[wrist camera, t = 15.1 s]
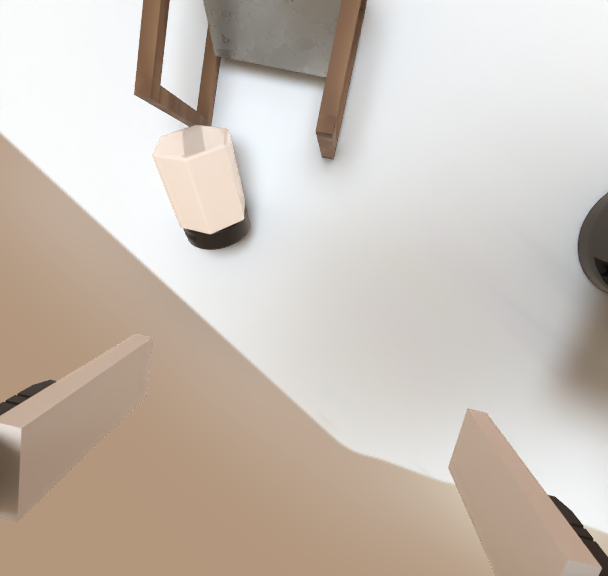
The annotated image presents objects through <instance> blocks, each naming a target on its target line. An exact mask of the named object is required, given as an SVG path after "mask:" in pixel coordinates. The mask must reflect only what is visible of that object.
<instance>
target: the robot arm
mask: <svg viewBox="0 0 608 576" xmlns="http://www.w3.org/2000/svg"><path fill="white" fill-rule="evenodd" d="M578 250H579V258H580V262H581V265H582V268H583V270H584V272H585V274H586V275H587V277H588V278H589V279H590V280H591V281H592V282H593V283H594V284H595V285H596V286H597V287H598V288H600V289H601V290H603V291H605V292H607V293H608V193H607V194H606V195H605V196H604V197H603V198H601V199H600V200H599V201H598V202H597V204H596V205H595V206H594V207H593V208H592V210H591V211H590V213H589V214H588V216H587V218H586V219H585V221H584V224H583V226H582V229H581V232H580V237H579V245H578ZM152 342H153V338H152V337H148V336H143V335H139V334H134V335H132V336H131V337H129V338H128V339H126V340H124V341H122V342H121V343H119V344H118V345H116V346H114V347H113V348H111V349H109V350H108V351H106V352H104V353H103V354H101V355H99V356H98V357H96V358H94V359H93V360H91V361H90V362H88V363H86V364H85V365H83V366H81V367H80V368H78V369H77V370H75V371H73V372H72V373H70V374H68V375H67V376H65V377H63V378H62V379H60V380H58V381H53V380H48V381H45V382H41V383H38V384H35V385H32V386H30V387H28V388H27V389H25V390H23V391H21V392H20V393H18V395H14V396H13V397H11V398H9V399H7V400H6V402H2V403H1V404H0V518H2V519H6V520H11V521H14V522H18V521H19V520H20V519H21V518H22V517H23V516H24V515H25V514H26V513H27V512H28V511H29V510H31V509H32V508H33V507H34V506H35V505H36V504H37V503H38V502H39V501H40V500H41V499H42V498H43V497H44V496H45V495H46V494H47V493H48V492H49V491H50V490H51V489H52V488H53V487H54V486H55V485H56V484H57V483H58V482H59V481H60V480H61V479H62V478H63V477H64V476H65V475H66V474H67V473H68V472H69V471H70V470H72V468H73V467H74V466H76V465H77V464H78V463H79V462H80V461H81V460H82V459H83V458H84V457H85V456H86V455H87V454H88V453H89V452H90V451H91V450H92V449H93V448H94V447H95V446H96V445H97V444H98V443H99V442H100V441H101V440H102V439H103V438H104V437H105V436H106V435H107V434H108V433H110V431H112V430H113V429H114V428H115V427H116V426H117V425H118V424H119V423H120V422H121V421H122V420H123V419H124V418H125V417H126V416H127V415H128V414H129V413H130V412H131V411H132V410H133V409H134V408H135V407H136V406H137V405H138V404H139V403H140V402H141V401H142V400H143V399H144V398H145V397H146V392H147V384H148V375H149V367H150V359H151V350H152ZM448 468H449V470H450V473H451V475H452V477H453V480H454V482H455V484H456V486H457V489H458V491H459V493H460V496H461V498H462V500H463V502H464V505H465V507H466V509H467V511H468V514H469V516H470V518H471V521H472V523H473V525H474V527H475V530H476V532H477V534H478V537H479V539H480V541H481V544H482V546H483V548H484V550H485V553H486V555H487V557H488V559H489V562H490V564H491V566H492V569H493V571H494V573H495V576H608V557H607V555H606V554H605V553H604V552H603V550H602V549H601V548H600V547H599V545H598V544H597V543H596V542H594V541H593V538H592V536H591V535H590V534H589V532H588V531H587V530H586V529H584V528H583V525H582V524H581V522H580V521H579V520H578V518H577V517H576V516H575V515H574V513H573V512H572V511H571V510H570V509H569V508H568V507H566V506H565V505H564V504H563V503H562V502H561V501H559V500H558V499H557V498H556V497H554V496H550V495H547V493H546V492H545V491H544V489H543V488H542V487H541V485H540V484H539V483H538V481H537V480H536V479H535V477H534V476H533V475H532V473H531V472H530V471H529V469H528V468H527V467H526V465H525V464H524V463H523V461H522V460H521V459H520V457H519V456H518V455H517V453H516V452H515V450H514V449H513V448H512V446H511V445H510V444H509V442H508V441H507V440H506V438H505V437H504V436H503V434H502V433H501V432H500V430H499V429H498V428H497V426H496V425H495V424H494V422H493V421H492V420H491V418H490V417H489V416H488V414H487V413H483V412H479V411H475V410H470V409H467V412H466V415H465V418H464V421H463V425H462V428H461V431H460V434H459V437H458V440H457V443H456V446H455V449H454V452H453V455H452V458H451V461H450V464H449V467H448Z"/></svg>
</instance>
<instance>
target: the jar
mask: <svg viewBox="0 0 608 576" xmlns="http://www.w3.org/2000/svg"><path fill="white" fill-rule="evenodd" d="M152 156H153V159H154V161H155V164H156V167H157V169H158V172H159V174H160V177H161V179H162V182H163V184H164V187H165V190H166V192H167V195H168V197H169V200H170V202H171V205H172V207H173V210H174V213H175V215H176V218H177V220H178V223H179V225H180V227H181V228H183V229H184V231H185V234H186V236H187V238H188V240H189V242H190V243H191V244H192V245H194V246H196V247H198V248H201V249H207V250H214V249H221V248H225V247H228V246H231V245H233V244H235V243H237V242H238V241H240V240H241V239H242V238H243V237H244V236H245V235H246V234H247V232H248V230H249V220H248V216H247V211H246V207H245V197H244V193H243V189H242V184H241V180H240V176H239V171H238V167H237V162H236V158H235V154H234V149H233V145H232V140H231V136H230V132H229V129H227V128H221V127H211V126H202V125H194V126H191V127H188V128H185V129H182V130H179V131H176V132H173V133H170V134H167V135H164V136H161V137H160V139H159V141H158V143H157V145H156V148H155V150H154V152H153V154H152Z"/></svg>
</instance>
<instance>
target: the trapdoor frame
mask: <svg viewBox="0 0 608 576" xmlns="http://www.w3.org/2000/svg"><path fill="white" fill-rule="evenodd" d="M169 1H170V0H143V10H142V20H141V30H140V40H139V51H138V61H137V71H136V82H135V92H134V95H136V96H138V97H139V98H141V99H143V100H145V101H146V102H148V103H150V104H151V105H153V106H155V107H157V108H158V109H160V110H162V111H163V112H165V113H167V114H169V115H170V116H172V117H174V118H176V119H177V120H179V121H181V122H182V123H184V124H186V125H188V126H189V127H191V126H194V125H202V126H211V122H212V115H213V108H214V101H215V94H216V87H217V79H218V72H219V65H220V58H221V57H219V56H215V54H214V49H213V44H212V39H211V35H210V30H209V25H208V31H207V38H206V46H205V54H204V61H203V69H202V76H201V84H200V91H199V99H198V107H197V111H195V110H194V109H193V108H191V107H190V106H188V105H187V104H186V103H184V102H183V101H181V100H180V99H179V98H177V97H176V96H174V95H173V94H172V93H170V92H169V91H167V90H166V89H165V88H163V87H162V86H161V85H160V83H161V74H162V64H163V55H164V46H165V37H166V28H167V19H168V10H169ZM366 4H367V0H342V1H341V6H340V11H339V16H338V21H337V26H336V31H335V36H334V41H333V46H332V51H331V56H330V61H329V66H328V71H327V76H326V82H325V87H324V92H323V97H322V102H321V107H320V112H319V117H318V122H317V127H316V134H317V139H318V143H319V147H320V151H321V155H322V157H324V158H329V159H334V155H335V150H336V145H337V141H338V136H339V131H340V127H341V122H342V117H343V112H344V108H345V103H346V98H347V93H348V89H349V84H350V79H351V74H352V70H353V65H354V60H355V56H356V51H357V46H358V41H359V37H360V32H361V27H362V22H363V18H364V13H365V8H366Z"/></svg>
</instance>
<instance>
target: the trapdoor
mask: <svg viewBox="0 0 608 576" xmlns="http://www.w3.org/2000/svg"><path fill="white" fill-rule="evenodd" d="M203 1H204V6H205V11H206V15H207V20H208V25H209V30H210V35H211V39H212V44H213V49H214V54H215V56H219V57H224V58H229V59H234V60H239V61H244V62H249V63H254V64H259V65H265V66H270V67H275V68H280V69H285V70H290V71H295V72H300V73H305V74H310V75H316V76H321V77H326V76H327V71H328V66H329V61H330V56H331V51H332V46H333V41H334V36H335V31H336V26H337V21H338V16H339V11H340V6H341V1H342V0H203Z"/></svg>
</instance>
